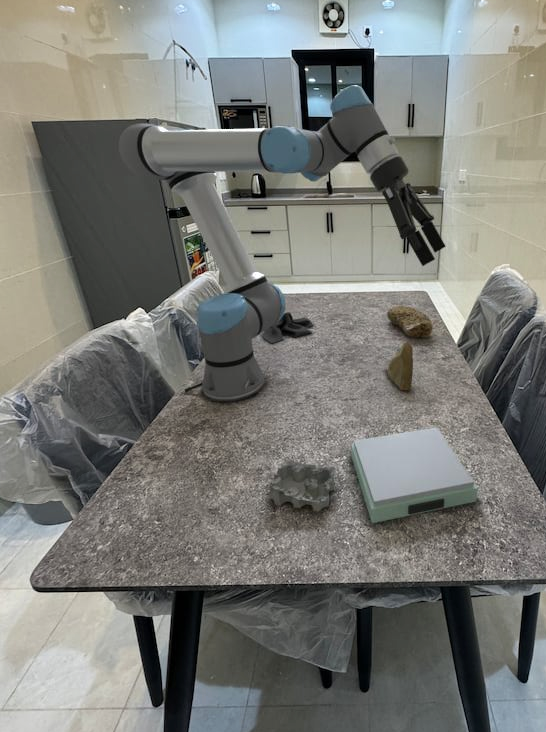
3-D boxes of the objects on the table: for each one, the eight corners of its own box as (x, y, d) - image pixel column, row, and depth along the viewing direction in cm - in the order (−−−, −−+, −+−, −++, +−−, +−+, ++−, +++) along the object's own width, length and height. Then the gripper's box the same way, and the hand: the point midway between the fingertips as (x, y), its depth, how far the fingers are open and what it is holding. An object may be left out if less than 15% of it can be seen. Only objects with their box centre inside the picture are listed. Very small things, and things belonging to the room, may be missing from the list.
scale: (372, 525, 60) (372, 506, 59) (351, 455, 75) (350, 439, 73) (477, 503, 64) (479, 485, 62) (437, 441, 78) (438, 425, 77)
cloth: (264, 319, 144) (262, 303, 141) (314, 317, 144) (313, 302, 142) (252, 344, 123) (250, 326, 121) (310, 342, 124) (309, 324, 121)
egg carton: (265, 504, 64) (262, 486, 63) (283, 472, 71) (281, 455, 69) (325, 516, 62) (324, 497, 60) (338, 482, 69) (337, 464, 67)
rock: (421, 386, 93) (427, 363, 101) (400, 361, 91) (408, 339, 99) (387, 401, 99) (395, 378, 107) (366, 378, 97) (377, 356, 105)
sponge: (436, 341, 126) (420, 309, 142) (435, 322, 122) (419, 291, 138) (397, 349, 126) (386, 317, 142) (394, 330, 121) (383, 299, 138)
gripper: (380, 152, 66) (440, 259, 69) (413, 155, 87) (458, 237, 91) (347, 178, 70) (406, 278, 73) (386, 174, 91) (430, 252, 94)
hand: (435, 255), depth 82 cm, fingers open, 13 cm apart
